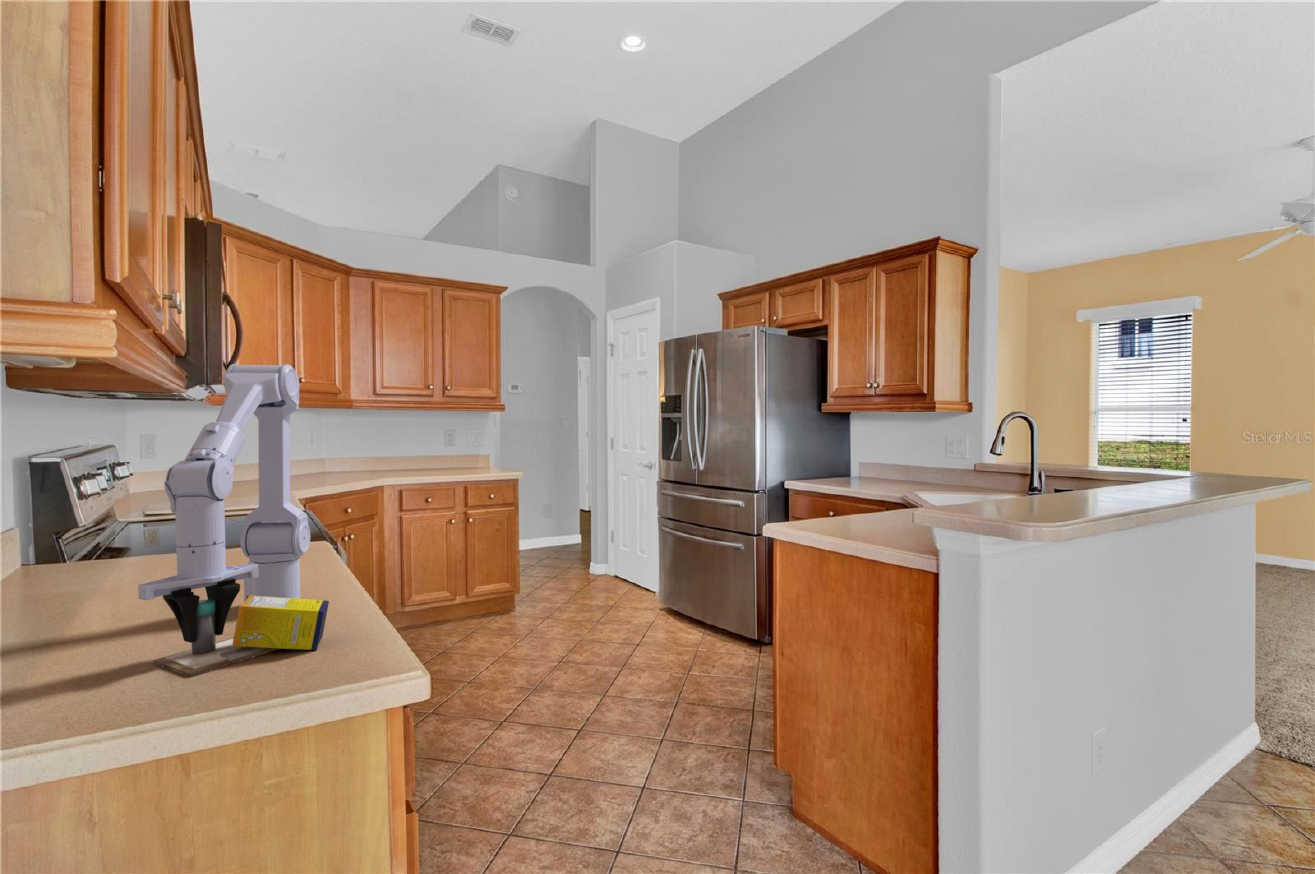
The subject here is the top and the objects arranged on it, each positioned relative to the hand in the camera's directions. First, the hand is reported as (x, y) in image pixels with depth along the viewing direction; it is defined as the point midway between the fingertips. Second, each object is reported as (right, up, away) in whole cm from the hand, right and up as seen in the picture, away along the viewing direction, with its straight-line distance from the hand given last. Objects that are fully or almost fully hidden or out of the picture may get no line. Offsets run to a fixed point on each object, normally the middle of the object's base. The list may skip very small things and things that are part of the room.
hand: (203, 637), depth 91 cm
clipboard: (+3, -3, +2) cm, 5 cm away
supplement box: (+15, 0, +5) cm, 16 cm away
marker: (0, -2, 0) cm, 2 cm away
